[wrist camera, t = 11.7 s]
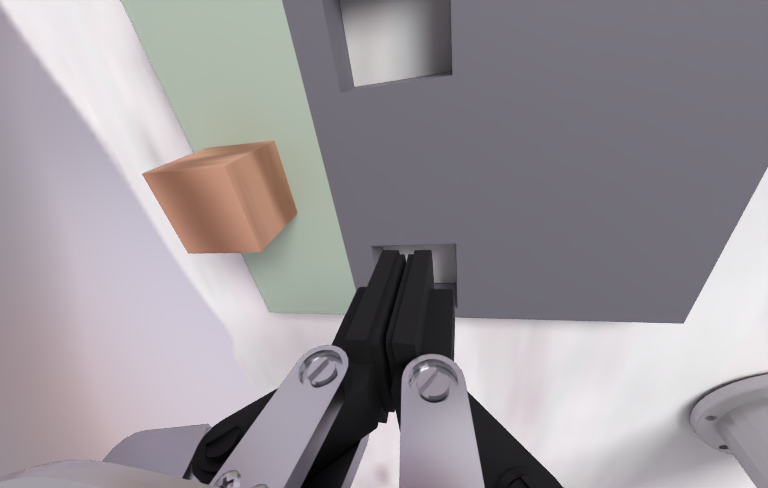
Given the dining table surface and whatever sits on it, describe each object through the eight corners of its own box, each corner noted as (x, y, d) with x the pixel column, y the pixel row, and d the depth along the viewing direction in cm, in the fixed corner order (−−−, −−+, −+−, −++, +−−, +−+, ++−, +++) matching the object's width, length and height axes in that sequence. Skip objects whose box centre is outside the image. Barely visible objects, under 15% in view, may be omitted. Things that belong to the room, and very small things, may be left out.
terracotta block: (274, 140, 18) (224, 166, 14) (297, 212, 21) (260, 252, 17) (206, 147, 19) (142, 173, 15) (236, 215, 22) (188, 253, 18)
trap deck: (888, -228, 10) (1027, -316, 8) (657, 293, 23) (683, 323, 20) (154, -17, 18) (106, -29, 15) (284, 290, 30) (269, 312, 27)
